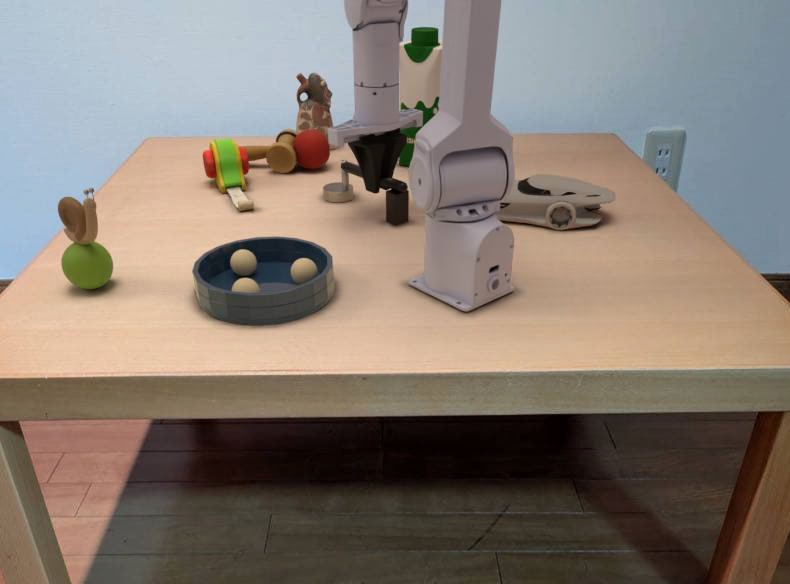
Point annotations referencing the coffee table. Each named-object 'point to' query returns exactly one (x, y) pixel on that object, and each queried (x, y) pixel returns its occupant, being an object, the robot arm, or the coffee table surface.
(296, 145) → the kendama
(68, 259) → the snail figurine
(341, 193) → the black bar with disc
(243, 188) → the toy measuring tape
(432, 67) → the milk carton
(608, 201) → the car model
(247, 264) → the dumpling
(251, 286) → the dumpling
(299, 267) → the dumpling
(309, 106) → the figurine
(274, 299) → the bowl
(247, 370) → the coffee table surface
